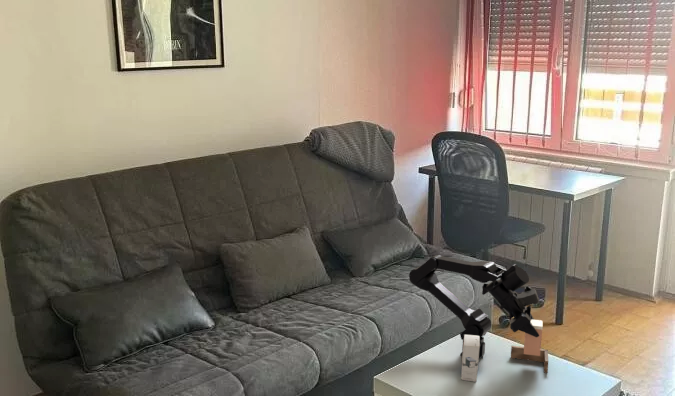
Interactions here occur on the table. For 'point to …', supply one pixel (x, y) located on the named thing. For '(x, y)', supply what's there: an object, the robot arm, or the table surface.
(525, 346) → the pink tall block
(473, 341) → the ink box
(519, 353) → the walnut corner walls
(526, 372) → the table surface
